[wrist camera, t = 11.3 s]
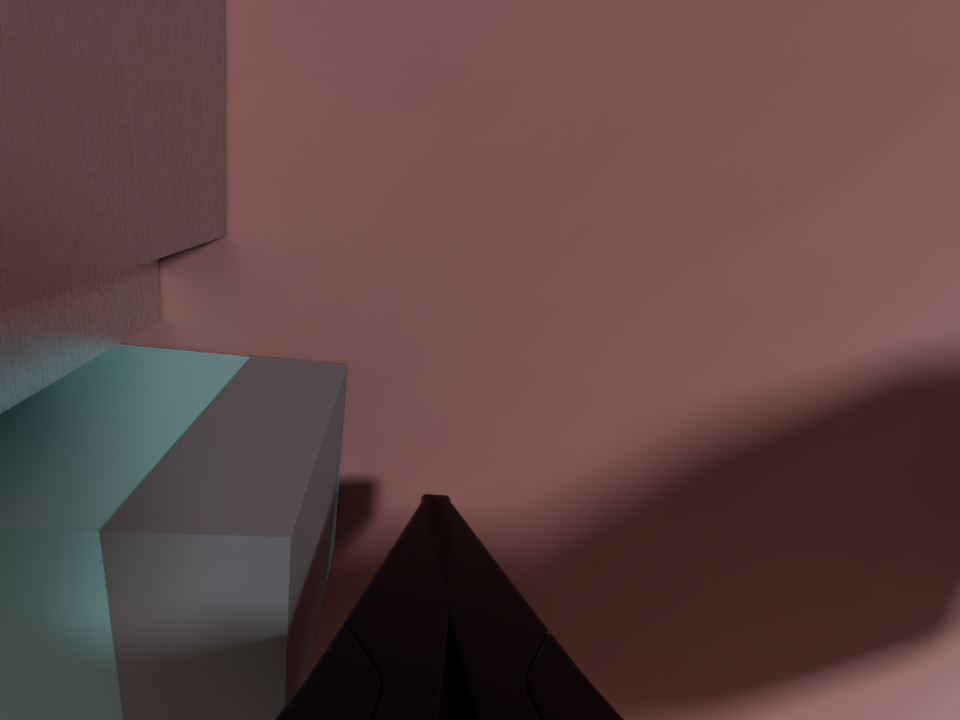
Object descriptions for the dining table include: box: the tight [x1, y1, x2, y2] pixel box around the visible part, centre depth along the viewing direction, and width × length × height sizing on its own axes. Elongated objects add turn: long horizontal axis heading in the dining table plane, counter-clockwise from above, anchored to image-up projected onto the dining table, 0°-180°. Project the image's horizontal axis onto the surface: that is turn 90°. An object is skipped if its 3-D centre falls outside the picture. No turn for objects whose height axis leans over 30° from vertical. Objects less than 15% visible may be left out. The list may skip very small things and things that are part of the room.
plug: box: [0, 344, 347, 720], centre depth 7 cm, size 7×4×4 cm, turn 81°
